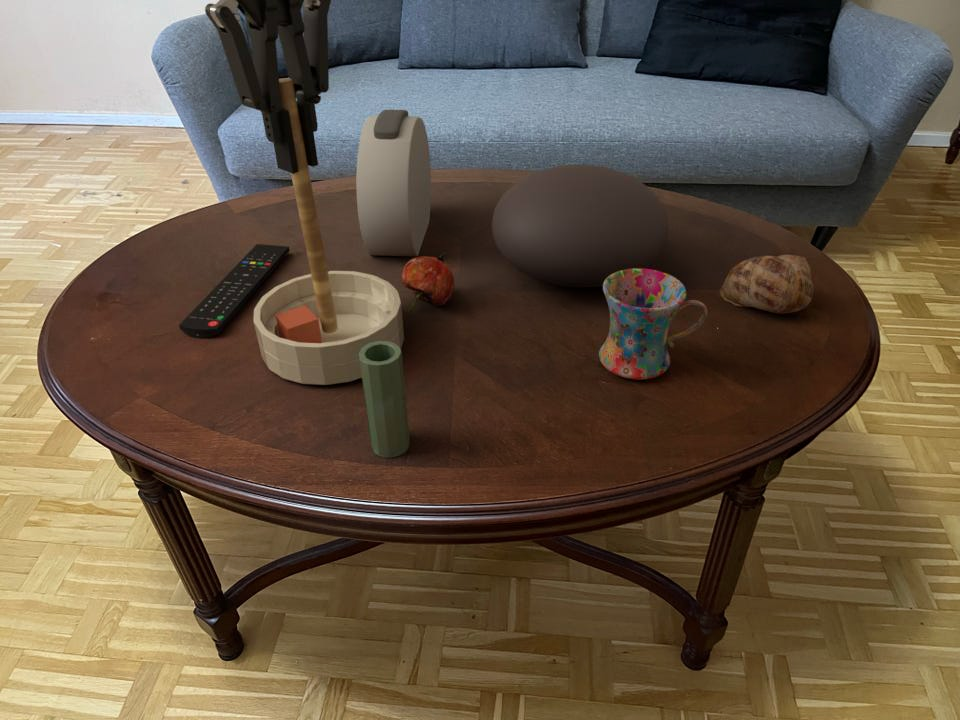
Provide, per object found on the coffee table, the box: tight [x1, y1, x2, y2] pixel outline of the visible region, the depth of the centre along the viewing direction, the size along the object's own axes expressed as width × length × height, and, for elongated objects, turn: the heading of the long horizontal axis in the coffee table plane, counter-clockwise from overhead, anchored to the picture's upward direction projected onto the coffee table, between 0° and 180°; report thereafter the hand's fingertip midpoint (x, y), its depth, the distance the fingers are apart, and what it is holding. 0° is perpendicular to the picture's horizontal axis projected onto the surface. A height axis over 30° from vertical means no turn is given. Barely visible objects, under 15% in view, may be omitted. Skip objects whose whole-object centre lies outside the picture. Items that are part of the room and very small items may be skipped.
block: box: [275, 305, 322, 343], centre depth 89 cm, size 4×4×4 cm
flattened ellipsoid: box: [491, 163, 670, 288], centre depth 102 cm, size 25×25×15 cm
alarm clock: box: [355, 109, 432, 258], centre depth 110 cm, size 21×8×20 cm, turn 175°
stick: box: [279, 77, 338, 333], centre depth 82 cm, size 2×2×30 cm
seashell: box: [719, 254, 814, 315], centre depth 96 cm, size 10×9×10 cm
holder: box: [359, 341, 410, 459], centre depth 72 cm, size 4×4×12 cm
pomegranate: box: [401, 251, 455, 316], centre depth 97 cm, size 7×7×10 cm
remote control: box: [178, 243, 291, 339], centre depth 102 cm, size 5×24×1 cm, turn 170°
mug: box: [598, 268, 708, 381], centre depth 84 cm, size 12×9×11 cm
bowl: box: [252, 270, 405, 386], centre depth 89 cm, size 18×18×6 cm
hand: (298, 166), depth 78 cm, fingers closed on stick, 2 cm apart
